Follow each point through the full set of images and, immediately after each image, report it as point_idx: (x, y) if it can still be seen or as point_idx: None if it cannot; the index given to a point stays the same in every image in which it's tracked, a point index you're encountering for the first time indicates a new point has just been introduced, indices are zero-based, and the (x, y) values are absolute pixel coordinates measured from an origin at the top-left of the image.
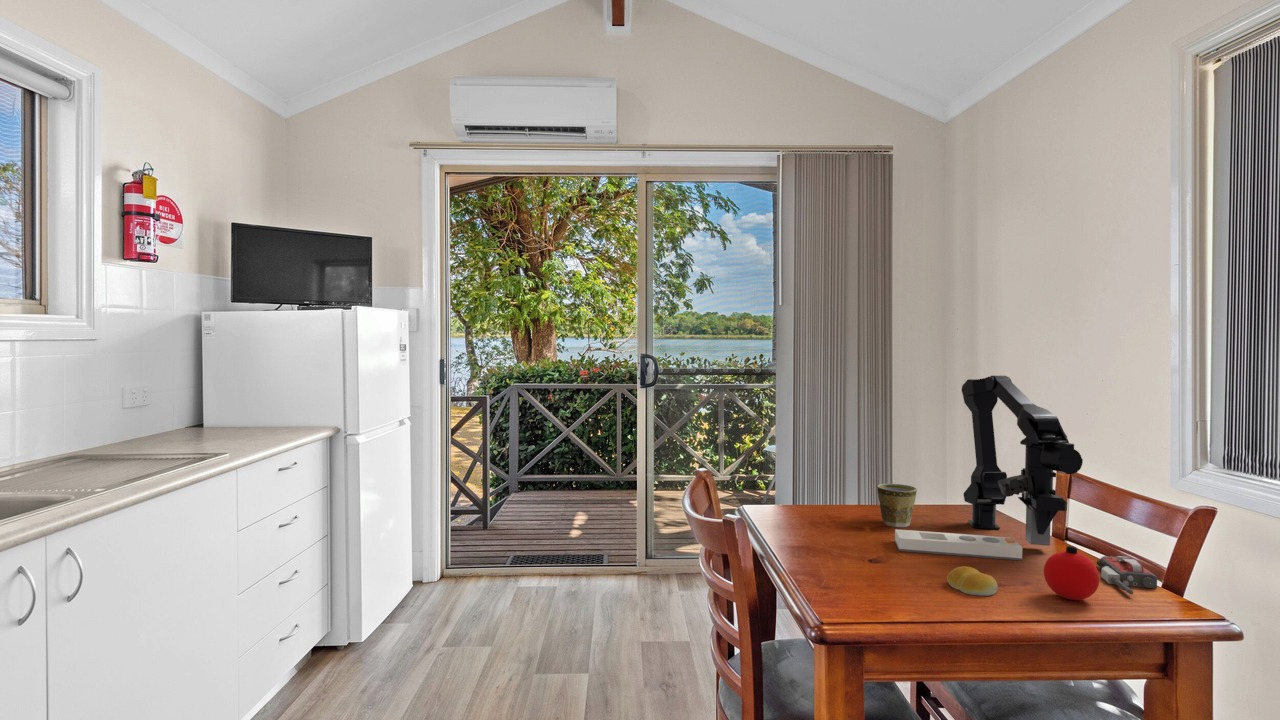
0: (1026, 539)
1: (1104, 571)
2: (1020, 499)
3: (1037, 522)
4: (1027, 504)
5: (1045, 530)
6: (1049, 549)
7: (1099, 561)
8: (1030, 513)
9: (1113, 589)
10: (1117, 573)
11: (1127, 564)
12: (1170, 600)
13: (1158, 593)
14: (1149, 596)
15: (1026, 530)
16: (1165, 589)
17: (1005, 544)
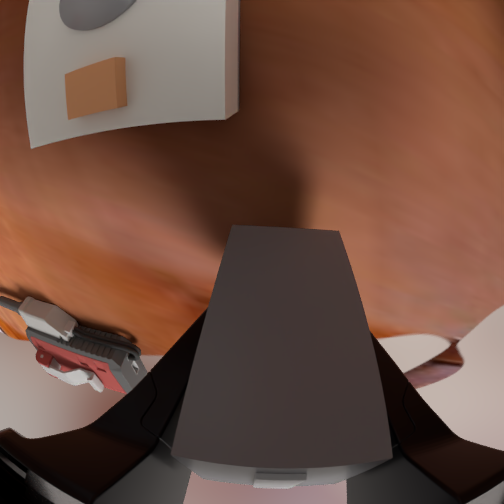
0: (319, 232)
1: (32, 315)
2: (474, 494)
3: (158, 363)
4: (408, 473)
5: None
6: None
7: (134, 354)
8: (216, 420)
9: (8, 287)
10: (33, 328)
11: (47, 361)
12: (24, 333)
13: None
14: (18, 318)
15: (333, 269)
16: None
17: (46, 66)
